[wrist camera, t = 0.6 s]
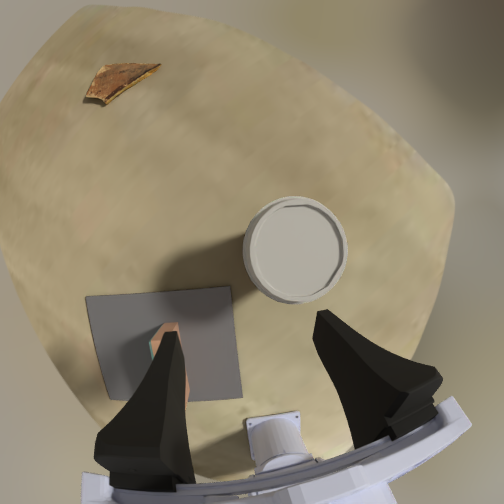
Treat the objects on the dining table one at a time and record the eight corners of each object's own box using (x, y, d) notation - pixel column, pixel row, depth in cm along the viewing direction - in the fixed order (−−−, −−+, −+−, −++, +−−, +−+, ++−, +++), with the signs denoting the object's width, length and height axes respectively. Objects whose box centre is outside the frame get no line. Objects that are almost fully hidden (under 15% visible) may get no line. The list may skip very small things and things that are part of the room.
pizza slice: (163, 69, 33) (161, 62, 31) (146, 108, 33) (143, 103, 31) (105, 68, 32) (101, 63, 30) (86, 106, 31) (82, 101, 30)
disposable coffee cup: (257, 300, 34) (275, 326, 22) (223, 231, 34) (223, 223, 22) (322, 266, 35) (367, 274, 23) (291, 199, 34) (324, 176, 22)
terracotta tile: (189, 389, 33) (184, 417, 26) (175, 390, 33) (166, 417, 26) (177, 322, 33) (166, 340, 26) (162, 323, 32) (147, 340, 26)
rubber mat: (242, 396, 34) (242, 397, 34) (111, 398, 32) (110, 399, 32) (230, 285, 34) (230, 286, 33) (86, 296, 32) (85, 296, 31)
